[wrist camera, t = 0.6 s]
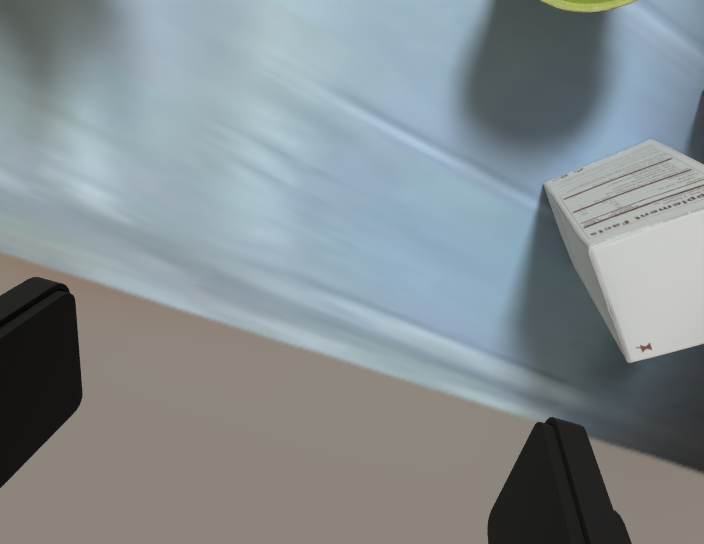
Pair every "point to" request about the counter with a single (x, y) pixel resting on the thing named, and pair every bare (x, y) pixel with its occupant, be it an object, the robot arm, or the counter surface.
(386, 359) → the counter surface
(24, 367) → the robot arm
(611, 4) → the plant pot
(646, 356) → the supplement box
